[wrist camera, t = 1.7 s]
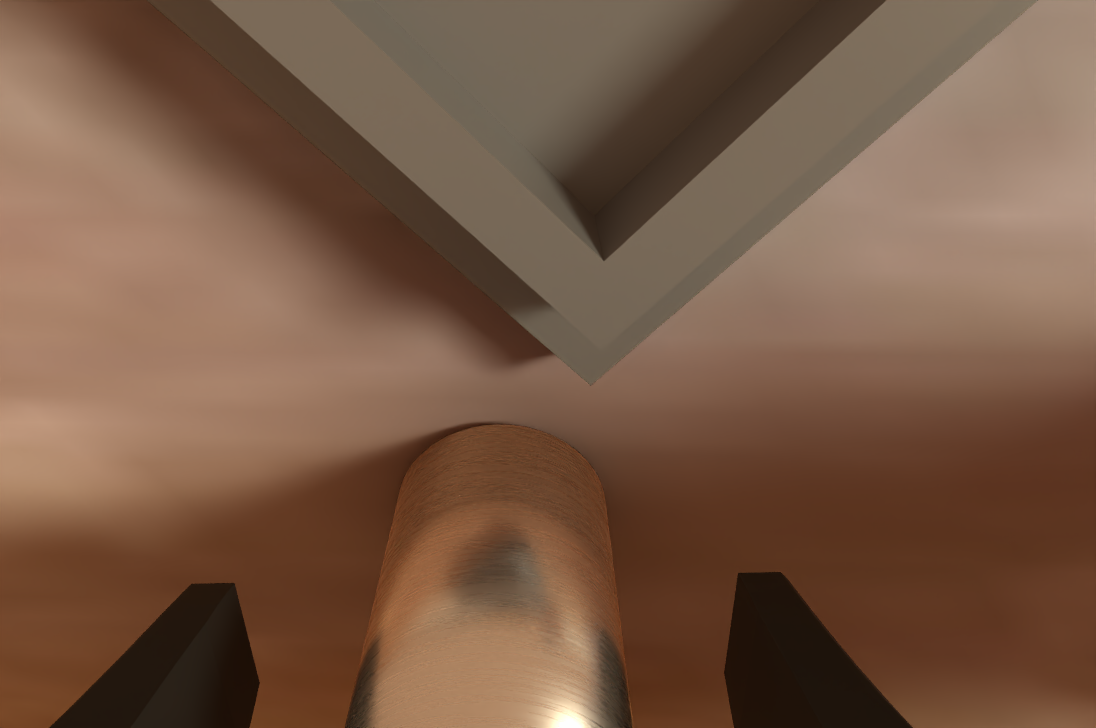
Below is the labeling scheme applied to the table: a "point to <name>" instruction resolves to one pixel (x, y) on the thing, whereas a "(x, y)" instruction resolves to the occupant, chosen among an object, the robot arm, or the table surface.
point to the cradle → (591, 128)
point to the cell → (496, 593)
